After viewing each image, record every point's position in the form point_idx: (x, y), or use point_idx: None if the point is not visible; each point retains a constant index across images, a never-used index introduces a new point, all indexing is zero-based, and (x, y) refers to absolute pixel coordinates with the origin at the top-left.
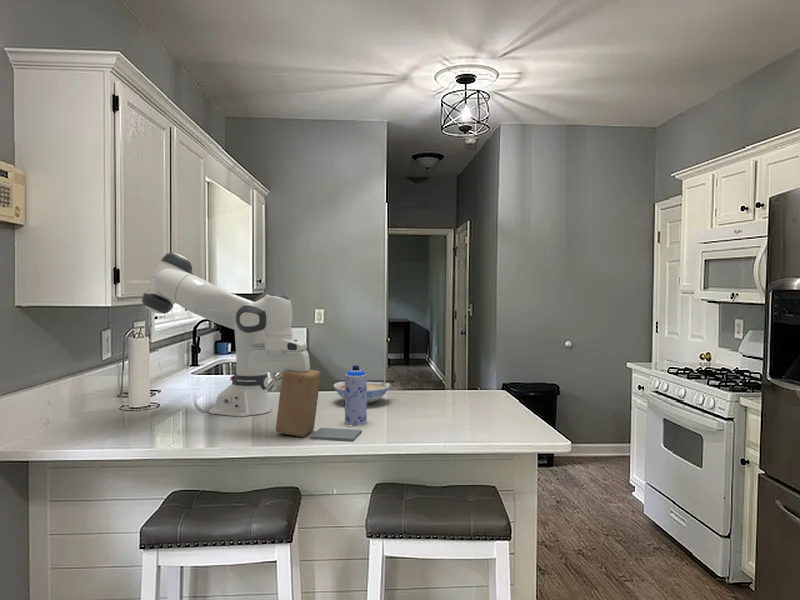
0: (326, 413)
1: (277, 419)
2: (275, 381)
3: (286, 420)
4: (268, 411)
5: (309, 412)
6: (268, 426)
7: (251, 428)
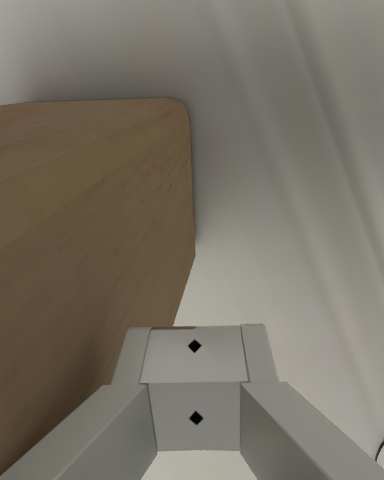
0: (147, 472)
1: (163, 105)
2: (237, 378)
3: (90, 104)
4: (380, 454)
5: None
6: (302, 270)
7: (376, 219)
